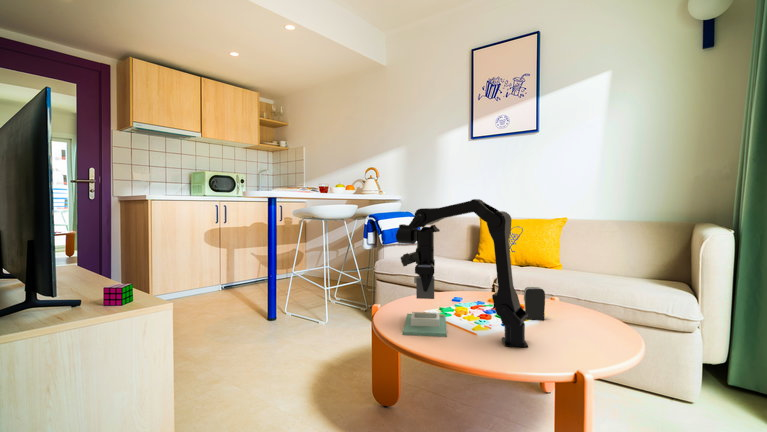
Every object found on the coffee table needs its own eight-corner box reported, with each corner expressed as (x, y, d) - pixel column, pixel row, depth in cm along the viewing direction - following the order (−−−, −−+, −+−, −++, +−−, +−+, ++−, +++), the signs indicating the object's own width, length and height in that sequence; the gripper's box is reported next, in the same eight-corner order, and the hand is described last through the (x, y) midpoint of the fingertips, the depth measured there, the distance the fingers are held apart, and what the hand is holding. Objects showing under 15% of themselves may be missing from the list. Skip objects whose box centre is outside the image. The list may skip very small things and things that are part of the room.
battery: (542, 317, 136) (542, 286, 136) (545, 320, 133) (545, 288, 132) (522, 316, 138) (522, 285, 137) (524, 319, 134) (525, 288, 133)
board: (446, 336, 117) (446, 325, 117) (402, 334, 119) (402, 324, 119) (445, 317, 137) (445, 308, 137) (407, 316, 139) (407, 306, 139)
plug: (434, 299, 125) (434, 278, 125) (414, 298, 126) (414, 278, 126) (434, 296, 129) (434, 276, 129) (414, 295, 130) (414, 275, 130)
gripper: (404, 241, 137) (404, 283, 138) (399, 247, 119) (399, 296, 119) (434, 242, 136) (434, 284, 136) (434, 248, 117) (434, 297, 118)
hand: (425, 290), depth 127 cm, fingers closed on plug, 4 cm apart
